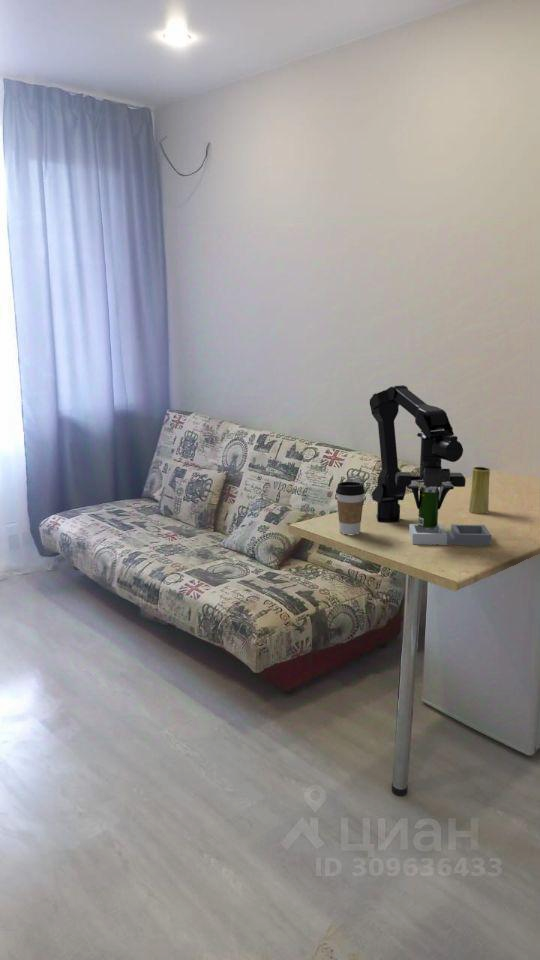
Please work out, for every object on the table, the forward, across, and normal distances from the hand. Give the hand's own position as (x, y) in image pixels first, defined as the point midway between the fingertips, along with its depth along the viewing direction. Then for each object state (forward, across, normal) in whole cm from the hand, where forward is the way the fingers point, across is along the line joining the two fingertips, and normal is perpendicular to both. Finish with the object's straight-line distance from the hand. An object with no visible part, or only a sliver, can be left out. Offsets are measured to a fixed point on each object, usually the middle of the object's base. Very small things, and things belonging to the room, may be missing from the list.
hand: (428, 508), depth 198 cm
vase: (+9, +20, +29) cm, 36 cm away
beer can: (+6, 0, 0) cm, 6 cm away
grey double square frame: (+9, +6, 0) cm, 11 cm away
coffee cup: (+9, -22, +5) cm, 24 cm away
